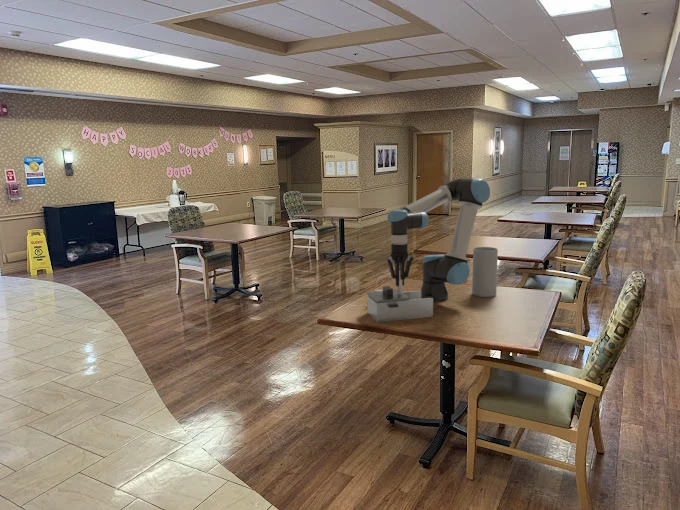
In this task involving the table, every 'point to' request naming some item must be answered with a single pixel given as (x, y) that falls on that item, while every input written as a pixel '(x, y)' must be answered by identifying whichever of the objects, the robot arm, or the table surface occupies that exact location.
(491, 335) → the table surface
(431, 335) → the table surface
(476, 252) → the cylinder vase
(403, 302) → the grey lidded storage box
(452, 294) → the table surface
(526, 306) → the table surface
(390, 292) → the lid
